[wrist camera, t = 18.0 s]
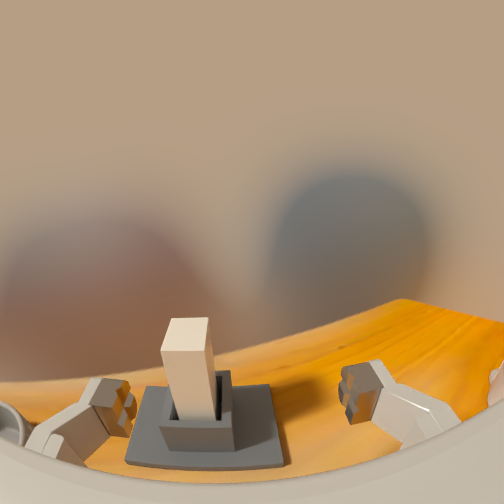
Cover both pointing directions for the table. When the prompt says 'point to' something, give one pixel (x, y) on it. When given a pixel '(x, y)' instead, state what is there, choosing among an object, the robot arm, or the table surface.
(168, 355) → the tall cream pillar block
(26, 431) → the dog bowl
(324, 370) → the table surface
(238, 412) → the socket holder
